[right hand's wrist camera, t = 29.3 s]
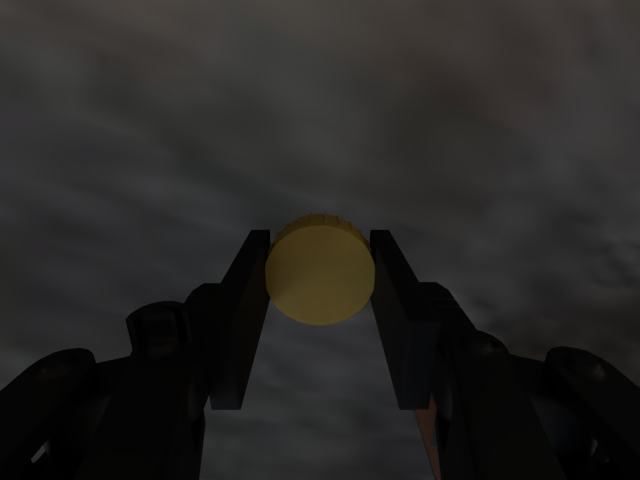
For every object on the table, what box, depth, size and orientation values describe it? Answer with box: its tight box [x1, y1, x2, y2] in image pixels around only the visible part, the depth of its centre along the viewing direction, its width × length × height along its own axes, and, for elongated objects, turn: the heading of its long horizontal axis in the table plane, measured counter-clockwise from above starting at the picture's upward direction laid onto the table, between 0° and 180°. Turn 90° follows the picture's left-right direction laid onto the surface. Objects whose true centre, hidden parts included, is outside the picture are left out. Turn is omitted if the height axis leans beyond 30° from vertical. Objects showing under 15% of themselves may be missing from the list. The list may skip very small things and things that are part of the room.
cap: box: [265, 213, 375, 325], centre depth 14 cm, size 4×4×2 cm
